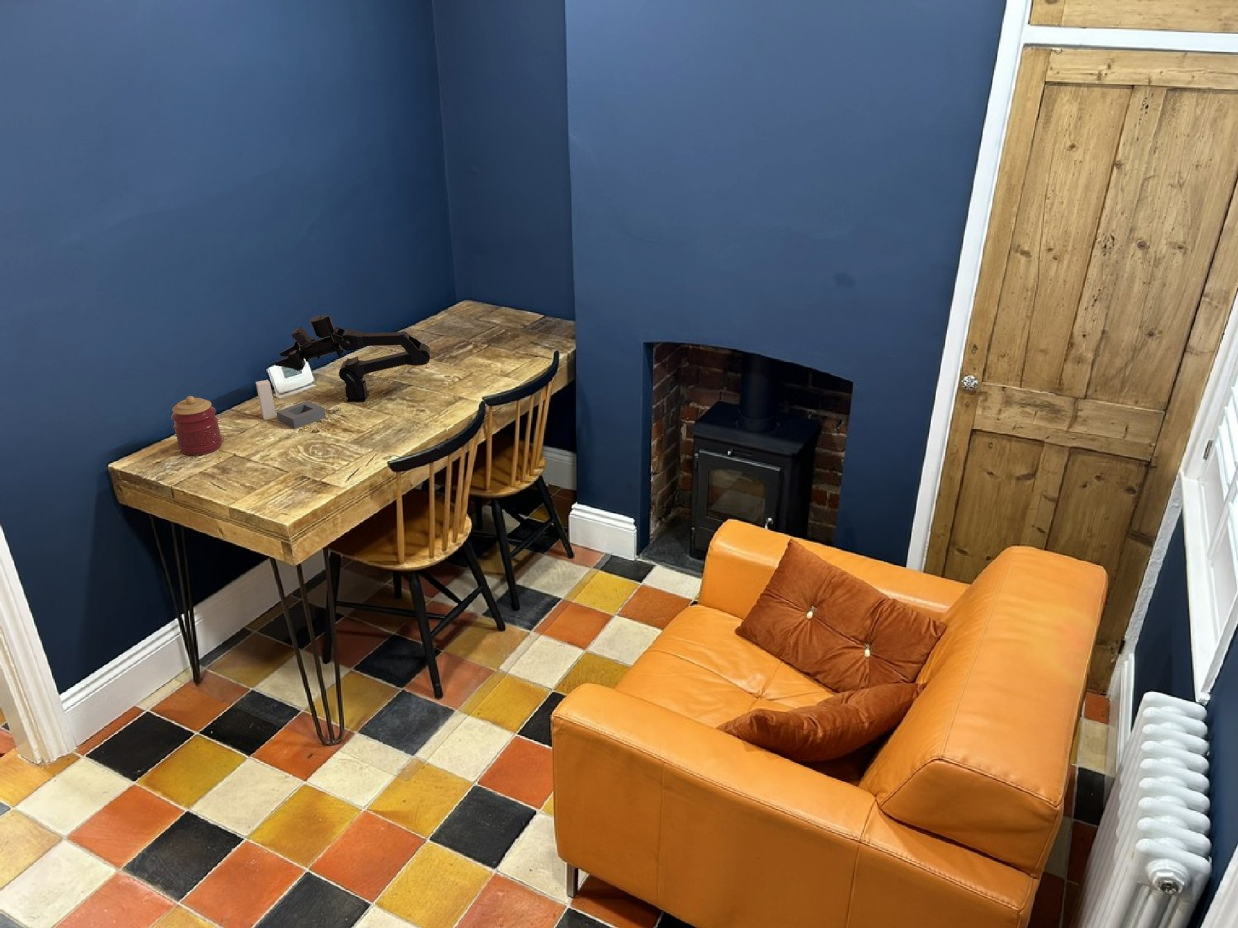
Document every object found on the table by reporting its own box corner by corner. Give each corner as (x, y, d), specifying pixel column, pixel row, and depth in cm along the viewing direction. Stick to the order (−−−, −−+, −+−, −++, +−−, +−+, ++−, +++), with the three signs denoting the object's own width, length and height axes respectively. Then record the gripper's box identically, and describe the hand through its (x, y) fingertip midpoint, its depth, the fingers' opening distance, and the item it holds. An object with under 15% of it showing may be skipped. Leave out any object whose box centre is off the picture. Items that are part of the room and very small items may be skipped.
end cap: (309, 409, 325) (307, 400, 323) (325, 417, 319) (324, 408, 318) (278, 421, 317) (276, 411, 315) (294, 429, 311) (293, 419, 310)
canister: (198, 459, 292) (185, 407, 284) (170, 451, 297) (157, 399, 289) (232, 443, 302) (221, 393, 294) (204, 435, 307) (193, 385, 299)
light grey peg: (274, 413, 323) (267, 379, 317) (276, 417, 320) (270, 383, 314) (262, 415, 321) (255, 382, 315) (264, 419, 318) (257, 385, 312)
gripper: (316, 317, 328) (273, 329, 328) (307, 335, 311) (262, 347, 311) (328, 346, 333) (286, 358, 333) (320, 365, 317) (275, 377, 317)
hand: (277, 359), depth 323 cm, fingers open, 9 cm apart
